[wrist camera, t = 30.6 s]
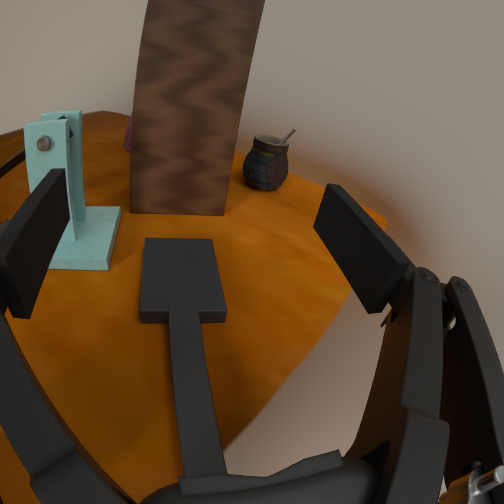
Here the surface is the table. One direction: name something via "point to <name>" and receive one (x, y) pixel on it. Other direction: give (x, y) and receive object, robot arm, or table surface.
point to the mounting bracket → (71, 192)
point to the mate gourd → (267, 162)
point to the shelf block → (189, 103)
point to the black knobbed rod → (21, 156)
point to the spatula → (187, 338)
